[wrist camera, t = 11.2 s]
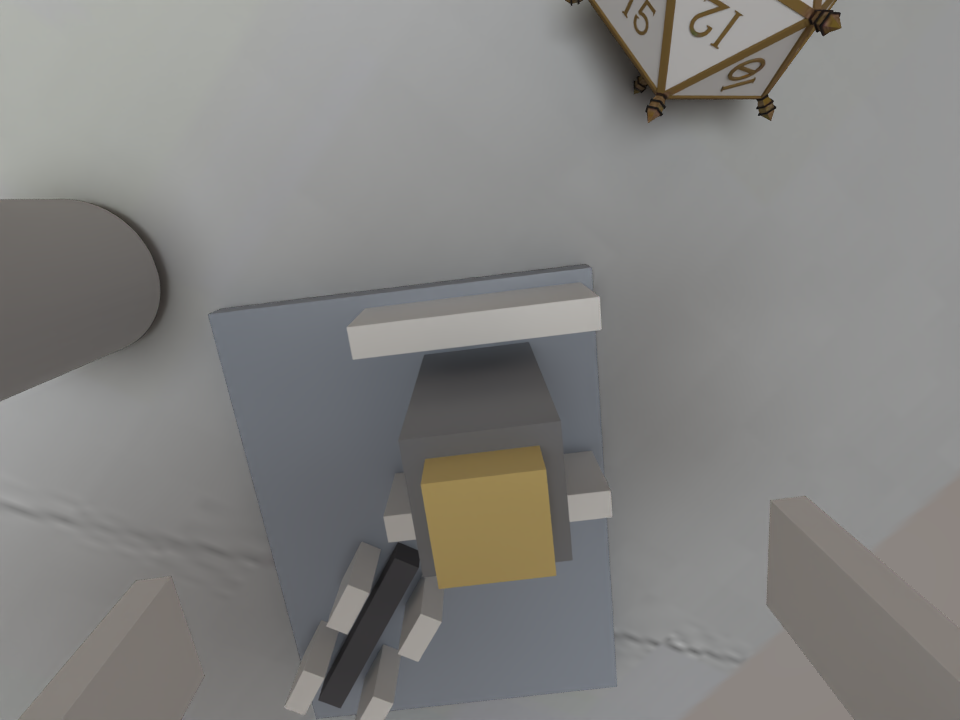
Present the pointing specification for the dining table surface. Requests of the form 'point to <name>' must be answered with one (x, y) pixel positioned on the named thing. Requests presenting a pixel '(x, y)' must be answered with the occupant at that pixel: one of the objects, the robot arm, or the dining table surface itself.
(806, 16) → the game die
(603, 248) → the dining table surface
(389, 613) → the bar
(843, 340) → the dining table surface
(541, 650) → the board
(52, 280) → the beverage can
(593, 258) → the dining table surface
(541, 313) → the end holder
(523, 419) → the connector plug
